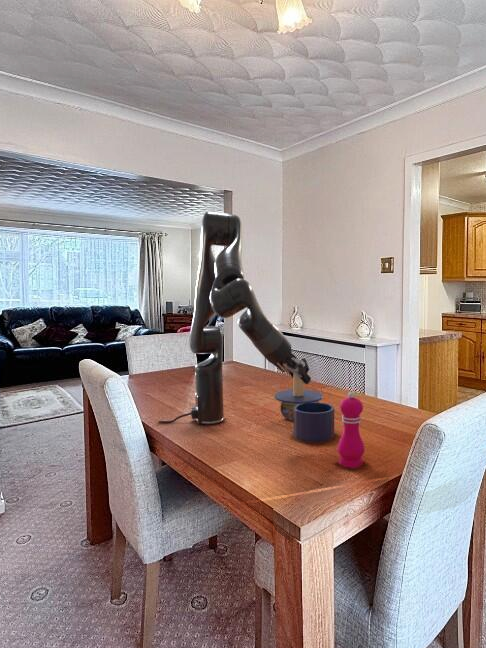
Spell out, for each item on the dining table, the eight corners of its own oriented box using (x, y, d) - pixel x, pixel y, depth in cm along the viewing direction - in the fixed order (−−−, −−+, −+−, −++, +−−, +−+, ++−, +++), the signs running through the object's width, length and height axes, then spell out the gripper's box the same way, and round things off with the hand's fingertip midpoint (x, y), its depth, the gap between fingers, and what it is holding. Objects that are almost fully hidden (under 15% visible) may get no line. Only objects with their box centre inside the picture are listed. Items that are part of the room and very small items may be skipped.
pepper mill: (335, 459, 126) (335, 388, 123) (361, 458, 126) (362, 388, 124) (339, 470, 119) (340, 395, 116) (367, 469, 119) (368, 395, 116)
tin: (280, 419, 162) (279, 396, 161) (283, 416, 165) (283, 394, 164) (319, 424, 157) (320, 400, 155) (323, 421, 160) (323, 398, 158)
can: (302, 445, 136) (302, 415, 135) (288, 432, 148) (288, 404, 147) (340, 440, 141) (340, 410, 139) (324, 428, 152) (324, 400, 151)
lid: (283, 407, 119) (282, 371, 118) (268, 395, 132) (268, 362, 130) (330, 403, 124) (331, 368, 122) (312, 391, 136) (312, 359, 135)
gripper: (296, 333, 115) (329, 373, 125) (261, 328, 125) (293, 366, 135) (280, 356, 112) (315, 396, 122) (245, 349, 122) (280, 387, 132)
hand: (303, 380), depth 128 cm, fingers closed on lid, 3 cm apart
